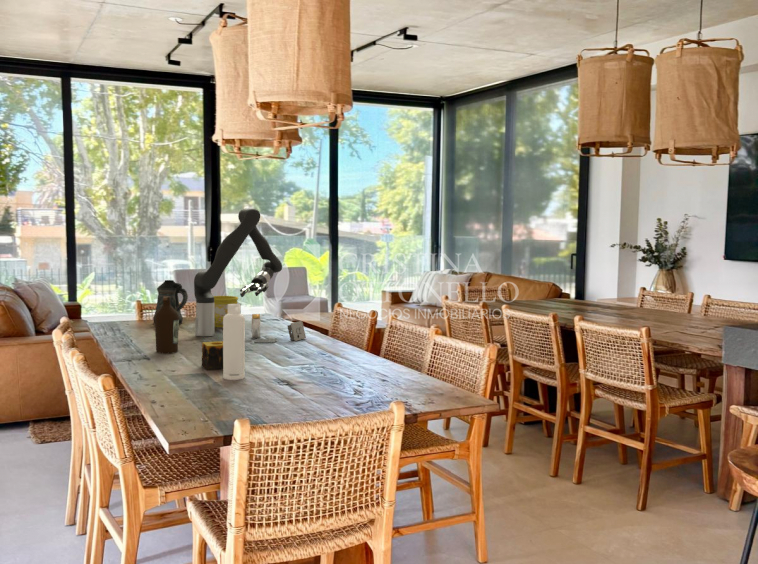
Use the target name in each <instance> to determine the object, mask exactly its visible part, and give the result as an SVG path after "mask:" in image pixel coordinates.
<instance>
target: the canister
mask: <svg viewBox="0 0 758 564" xmlns="http://www.w3.org/2000/svg"><path fill="white" fill-rule="evenodd" d="M251 338H252V339H254V338H257V339H261V315H260V313H259V314H258V313H253V314H252V315H251Z"/></svg>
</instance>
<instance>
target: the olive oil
mask: <svg viewBox="0 0 758 564" xmlns="http://www.w3.org/2000/svg"><path fill="white" fill-rule="evenodd" d="M154 314H155V313H154ZM154 321H155V324H154V334H155V335H154V337H155V350H156V351H155V352H156V353H157V354H176V353H178V351H179V346H178V345H179V330H180V329H179V325H180V324H179V316H178V313H177V312H176V310H175V309H174V308H173V307H172V306H171V305H170V297H163V306H162V307H161V308H160V309H159V310H158V311H157V312H156V314H155V318H154V320H153V322H154Z"/></svg>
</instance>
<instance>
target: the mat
mask: <svg viewBox="0 0 758 564" xmlns="http://www.w3.org/2000/svg"><path fill="white" fill-rule="evenodd" d="M276 342H277V338H257V339H255V340H254V341H253V343H254V344H275V343H276Z"/></svg>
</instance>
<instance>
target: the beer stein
mask: <svg viewBox="0 0 758 564" xmlns="http://www.w3.org/2000/svg"><path fill="white" fill-rule="evenodd" d="M156 291H157V292H158V293H157V301H156V307H155V311H154V314H153V317H152V320H153V324H154V325H155V321H154V318H155V314H156V312H157V311H158V310H159V309H160V308H161V307H162V306H163V297H170V305H171V306H172V307H173V308H174V309H175V310H176V312H177V313H178V316H179V325H181V324H182V322H183V320H184V319H183V317H184V316H183V314H182V312H181V310H182V309H183V308H184V306H185V305H186V304H187V302H188V297H189V295H188V292H187V290H186V289H184V288H183V286H182V284H181V283H179V282H175V281H174V280H172V279H166V280H164V282H163V283H161V284H160V285H159V286H158V287H157V288H156ZM179 294H180V295H182V300H181V302H180V298H179Z"/></svg>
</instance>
